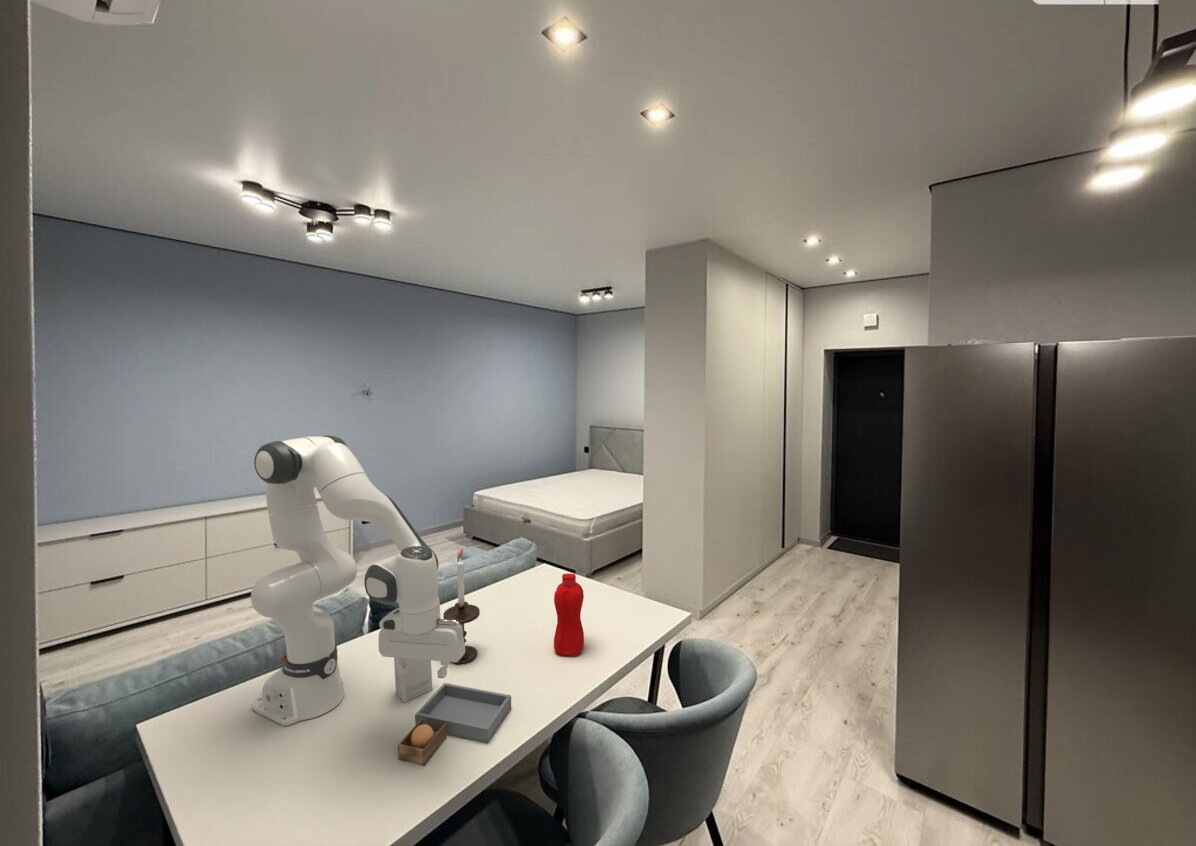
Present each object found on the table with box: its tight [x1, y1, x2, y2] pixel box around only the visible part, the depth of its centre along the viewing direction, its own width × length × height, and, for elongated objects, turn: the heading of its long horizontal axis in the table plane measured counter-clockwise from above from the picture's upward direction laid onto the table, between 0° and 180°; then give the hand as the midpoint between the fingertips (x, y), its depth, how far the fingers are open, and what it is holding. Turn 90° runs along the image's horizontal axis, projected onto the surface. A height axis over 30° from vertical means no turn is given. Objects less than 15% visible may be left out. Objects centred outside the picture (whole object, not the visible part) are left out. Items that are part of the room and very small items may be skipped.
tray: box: [414, 682, 512, 744], centre depth 126 cm, size 20×13×4 cm, turn 75°
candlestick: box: [442, 547, 481, 666], centre depth 152 cm, size 11×11×35 cm
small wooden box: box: [397, 719, 447, 767], centre depth 115 cm, size 7×9×4 cm
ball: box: [411, 724, 435, 749], centre depth 115 cm, size 5×5×5 cm
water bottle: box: [553, 573, 585, 657], centre depth 157 cm, size 9×11×25 cm
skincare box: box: [393, 657, 433, 703], centre depth 135 cm, size 8×7×16 cm
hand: (423, 675), depth 114 cm, fingers open, 8 cm apart
